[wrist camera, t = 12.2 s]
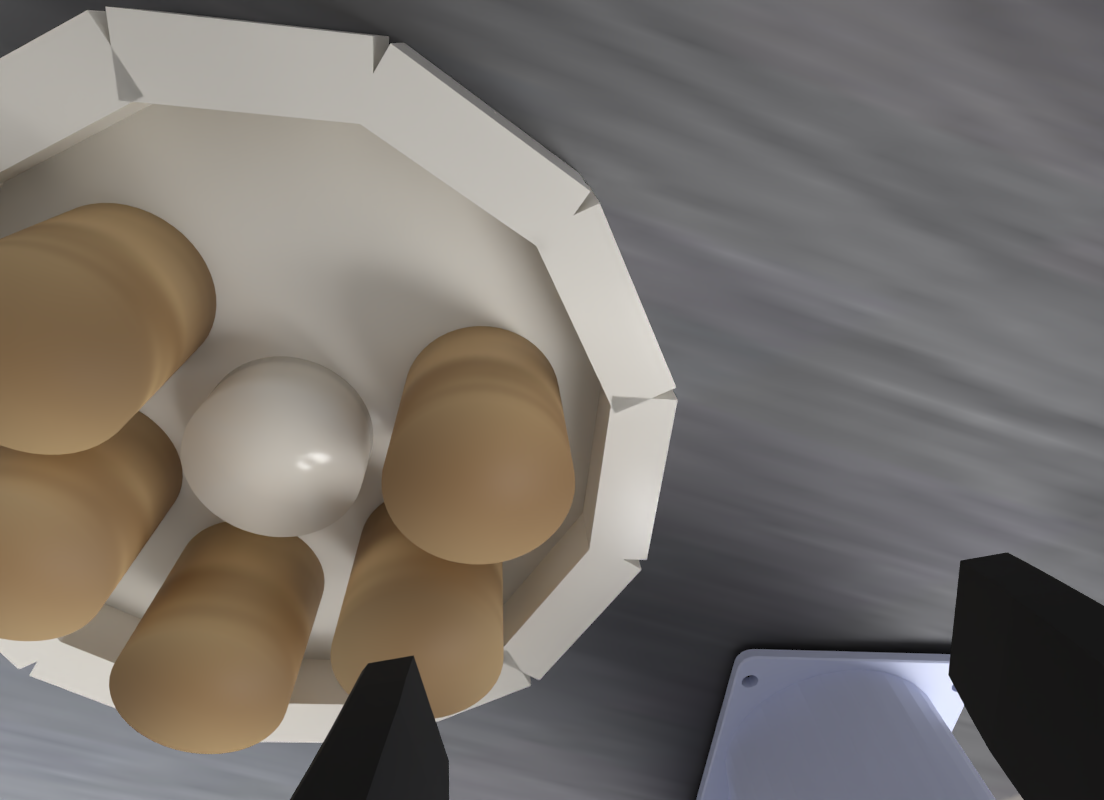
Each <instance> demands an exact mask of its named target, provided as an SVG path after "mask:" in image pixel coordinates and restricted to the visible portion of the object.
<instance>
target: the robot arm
mask: <svg viewBox="0 0 1104 800" xmlns="http://www.w3.org/2000/svg"><path fill="white" fill-rule="evenodd" d="M750 675H751V676H750ZM746 676H750V677H747V678H745V677H746ZM963 706H965V707H966V709H967V711H968V713H969V715H970V717H971V719H972V720H973V722H974V724H975V726H976V727H977V729H978V731H979V733H980V734H981V736H982V738H983V740H984V741H985V743H986V745H987V747H988V749H989V750H990V752H991V753H992V755H993V756H994V758H995V759H996V761H997V762H998V764H999V765H1000V766H1001V768H1002V769H1003V771H1004V772H1005V774H1006V775H1007V777H1008V778H1009V779H1010V781H1011V782H1012V784H1013V785H1014V787H1015V788H1016V789H1017V791H1018V792H1019V794H1020V795H1021V797H1022V798H1023V799H1024V800H1104V606H1103V605H1101V604H1100V603H1098V602H1096V601H1094V600H1093V599H1091V598H1089V597H1087V596H1086V595H1084V594H1082V593H1080V592H1078V591H1077V590H1075V589H1073V588H1071V587H1070V586H1068V585H1066V584H1064V583H1062V582H1061V581H1059V580H1057V579H1055V578H1054V577H1052V576H1050V575H1048V574H1046V573H1045V572H1043V571H1041V570H1039V569H1037V568H1035V567H1034V566H1032V565H1030V564H1028V563H1026V562H1024V561H1022V560H1021V559H1019V558H1017V557H1015V556H1013V555H1011V554H1009V553H1002V554H996V555H991V556H985V557H979V558H973V559H967V560H962V561H960V570H959V579H958V589H957V598H956V607H955V617H954V626H953V635H952V645H951V654H924V653H886V652H848V651H810V650H772V649H749V650H745V651H743V652H741V653H740V654H739V655H738V656H737V657H736V659H735V661H734V665H733V668H732V672H731V675H730V679H729V683H728V686H727V690H726V694H725V697H724V701H723V704H722V708H721V712H720V715H719V719H718V722H717V726H716V730H715V733H714V737H713V740H712V744H711V748H710V751H709V755H708V759H707V762H706V766H705V769H704V773H703V777H702V780H701V784H700V787H699V791H698V795H697V798H696V800H996V799H995V798H994V796H993V795H992V793H991V792H990V790H989V789H988V787H987V785H986V784H985V782H984V781H983V779H982V778H981V776H980V775H979V773H978V772H977V770H976V769H975V767H974V766H973V764H972V763H971V761H970V760H969V758H968V757H967V755H966V754H965V752H964V751H963V749H962V747H961V746H960V744H959V743H958V741H957V740H956V738H955V737H954V735H953V734H952V730H953V728H954V726H955V723H956V721H957V719H958V717H959V715H960V713H961V711H962V709H963ZM290 800H449V760H448V757H447V754H446V751H445V748H444V745H443V742H442V739H441V736H440V733H439V730H438V727H437V724H436V721H435V718H434V715H433V712H432V709H431V706H430V703H429V700H428V697H427V694H426V691H425V688H424V685H423V682H422V679H421V676H420V673H419V670H418V667H417V664H416V661H415V658H414V655H413V656H407V657H401V658H396V659H390V660H384V661H378V662H373V663H368V664H367V665H366V667H365V668H364V669H363V670H362V672H361V674H360V676H359V677H358V679H357V681H356V683H355V685H354V687H353V689H352V690H351V692H350V694H349V696H348V698H347V700H346V702H345V704H344V705H343V707H342V709H341V711H340V713H339V715H338V717H337V718H336V720H335V722H334V724H333V726H332V727H331V729H330V731H329V733H328V735H327V736H326V738H325V740H324V742H323V744H322V745H321V747H320V749H319V751H318V753H317V754H316V756H315V758H314V760H313V761H312V763H311V765H310V767H309V768H308V770H307V772H306V773H305V775H304V777H303V779H302V780H301V782H300V784H299V785H298V787H297V789H296V790H295V792H294V794H293V795H292V797H291V799H290Z"/></svg>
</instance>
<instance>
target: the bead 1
mask: <svg viewBox="0 0 1104 800" xmlns="http://www.w3.org/2000/svg"><path fill="white" fill-rule="evenodd" d="M381 484H382V495H383V499H384V503H385V506H386V509H387V511H388V513H389V515H390V517H391V519H392V521H393V522H394V524H395V525H396V526H397V528H398V529H399V530H400V532H401V533H402V534H403V535H404V536H405V537H406V538H407V539H409V540H410V541H411V542H412V543H414V544H415V545H416V546H418V547H419V548H421V549H423V550H424V551H426V552H428V553H430V554H432V555H434V556H436V557H439V558H442V559H445V560H448V561H453V562H457V563H464V564H493V563H499V562H504V561H508V560H511V559H514V558H517V557H520V556H522V555H524V554H526V553H529V552H531V551H532V550H534V549H536V548H537V547H539V546H540V545H542V544H543V543H544V542H545V541H547V540H548V539H549V538H550V537H551V536H552V535H553V534H554V533H555V532H556V531H557V530H558V528H559V527H560V526H561V524H562V523H563V521H564V520H565V518H566V516H567V514H568V512H569V510H570V507H571V505H572V501H573V497H574V492H575V473H574V467H573V461H572V456H571V451H570V445H569V440H568V434H567V429H566V423H565V418H564V412H563V407H562V401H561V396H560V390H559V385H558V381H557V377H556V374H555V372H554V369H553V367H552V366H551V364H550V362H549V360H548V359H547V358H546V356H545V355H544V354H543V353H542V352H541V351H540V350H539V349H538V348H537V347H536V346H535V345H534V344H533V343H531V342H530V341H529V340H527V339H525V338H524V337H522V336H520V335H518V334H516V333H514V332H511V331H509V330H505V329H501V328H497V327H490V326H473V327H466V328H461V329H457V330H454V331H451V332H449V333H446V334H444V335H442V336H440V337H438V338H437V339H435V340H434V341H433V342H431V343H430V344H429V345H428V346H426V347H425V348H424V349H423V350H422V351H421V353H420V354H419V355H418V356H417V357H416V359H415V361H414V362H413V364H412V365H411V367H410V370H409V372H408V375H407V378H406V382H405V386H404V390H403V393H402V397H401V401H400V405H399V409H398V413H397V416H396V420H395V424H394V428H393V432H392V435H391V439H390V443H389V447H388V451H387V455H386V458H385V462H384V466H383V470H382V479H381Z"/></svg>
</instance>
